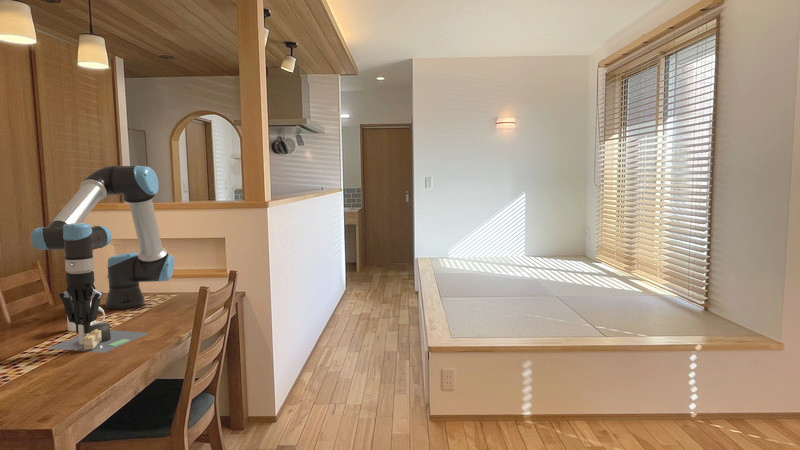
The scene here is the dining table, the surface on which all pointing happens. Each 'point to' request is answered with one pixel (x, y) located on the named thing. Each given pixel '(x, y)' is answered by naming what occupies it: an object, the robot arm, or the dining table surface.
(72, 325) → the mug
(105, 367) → the dining table surface
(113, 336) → the gauge board
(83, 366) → the dining table surface
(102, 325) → the dial lever
